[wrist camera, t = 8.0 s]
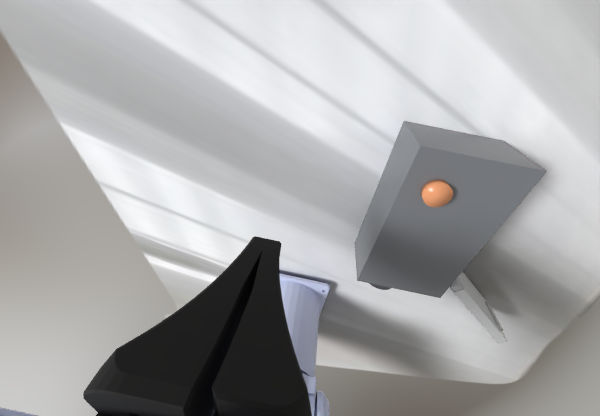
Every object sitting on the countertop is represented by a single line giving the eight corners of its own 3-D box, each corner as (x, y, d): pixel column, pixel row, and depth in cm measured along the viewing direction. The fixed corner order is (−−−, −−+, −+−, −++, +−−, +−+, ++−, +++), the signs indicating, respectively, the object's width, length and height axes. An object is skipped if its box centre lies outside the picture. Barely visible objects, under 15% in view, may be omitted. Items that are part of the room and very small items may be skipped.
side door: (432, 250, 23) (447, 288, 20) (443, 245, 23) (461, 283, 20) (476, 304, 27) (496, 343, 24) (487, 300, 26) (509, 341, 23)
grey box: (421, 266, 25) (437, 312, 21) (351, 251, 25) (353, 295, 21) (506, 141, 17) (557, 177, 13) (403, 121, 17) (423, 150, 13)
